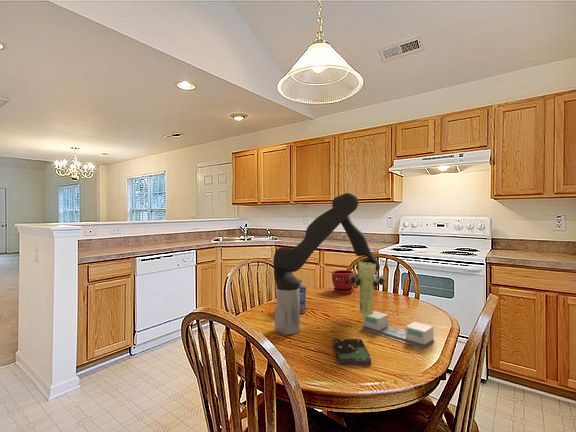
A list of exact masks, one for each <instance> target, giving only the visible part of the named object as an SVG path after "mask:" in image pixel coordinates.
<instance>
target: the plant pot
mask: <svg viewBox="0 0 576 432" xmlns="http://www.w3.org/2000/svg"><path fill="white" fill-rule="evenodd" d="M350 274H353V275H354V276H356V275H355V271H353V270H350V269H349V270H348V269H342V270H341V269H339V270H332V271H331V280H332V284H333V291H334V292H335V293H337V294H341V295H342V294H343V295H344V294H345V295H346V294H348V295H349V294H352V293H353V292H354V291H355V288H354V284H355V283H354V284H352V283H351V281H350Z"/></svg>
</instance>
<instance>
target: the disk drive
mask: <svg viewBox="0 0 576 432" xmlns="http://www.w3.org/2000/svg"><path fill="white" fill-rule="evenodd" d="M332 340H333V341H332V342H333V343H332V347H333V350H334V352H335V353H334V354H335V356H336V362H337V364H338V366H371V365H372V359H371V355H370V354H369V351H368V350H367V347H366V345H365V344H364V341H363V339H362V338H357V339H356V338H355V339H354V338H345V339H343V340H341V339H339V338H333V339H332Z"/></svg>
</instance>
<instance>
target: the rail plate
mask: <svg viewBox="0 0 576 432" xmlns="http://www.w3.org/2000/svg"><path fill="white" fill-rule="evenodd" d="M360 330H363V331H365V332H368V333H372V334H375V335H378V336H381V337H384V338H387V339H391V340H394V341H397V342H400V343H403V344H406V345H409V346H413V347H414V348H415V347H416V348H419V349H421V350H424V348H427V347H428V346H430V344H432V343H434V342H435V341H436V339H435V338H434V337H433V339H432V340H431V341H429V342H428V343H427V344H425V345H424V344H421V343H418V342H415V341H411V340H408V339H406V329H402V328H399V327H396V326H393V325H389V324H388V326H386V327H384V328H382V329H380V330H376V329H373V328H370V327H367V326H363V325H362V327H360Z"/></svg>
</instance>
